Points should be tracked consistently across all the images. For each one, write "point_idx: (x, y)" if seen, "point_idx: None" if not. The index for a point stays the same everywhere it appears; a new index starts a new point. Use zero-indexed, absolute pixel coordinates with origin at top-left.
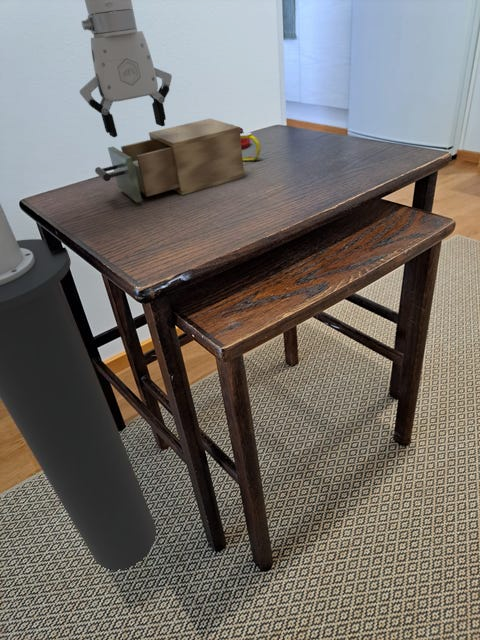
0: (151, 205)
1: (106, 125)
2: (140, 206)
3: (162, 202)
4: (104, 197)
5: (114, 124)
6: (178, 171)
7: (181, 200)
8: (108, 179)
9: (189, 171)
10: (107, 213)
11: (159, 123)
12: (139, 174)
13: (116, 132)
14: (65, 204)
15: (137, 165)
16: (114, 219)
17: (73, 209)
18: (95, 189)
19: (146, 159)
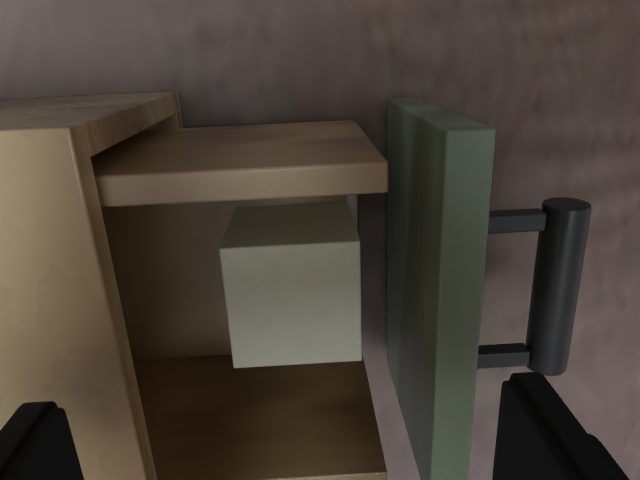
0: (351, 68)
1: (625, 475)
2: (398, 96)
3: (294, 67)
4: (480, 328)
5: (551, 450)
6: (140, 102)
7: (204, 19)
8: (555, 198)
9: (73, 103)
10: (548, 123)
11: (64, 449)
12: (355, 227)
13: (517, 395)
14: (629, 360)
15: (354, 262)
16: (556, 16)
17: (631, 281)
18: (473, 441)
19: (322, 156)
